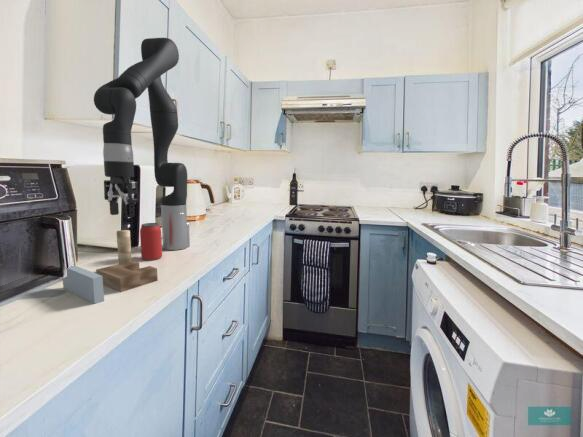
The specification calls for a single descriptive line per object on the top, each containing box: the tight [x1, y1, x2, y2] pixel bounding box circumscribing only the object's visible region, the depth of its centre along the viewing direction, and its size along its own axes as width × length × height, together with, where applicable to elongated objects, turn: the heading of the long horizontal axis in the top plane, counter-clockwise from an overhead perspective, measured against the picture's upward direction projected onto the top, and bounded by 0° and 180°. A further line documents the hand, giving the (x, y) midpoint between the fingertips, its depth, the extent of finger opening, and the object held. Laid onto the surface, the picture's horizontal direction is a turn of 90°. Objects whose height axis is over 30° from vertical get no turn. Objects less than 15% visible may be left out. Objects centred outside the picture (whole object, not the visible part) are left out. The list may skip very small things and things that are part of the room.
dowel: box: [116, 229, 133, 264], centre depth 91 cm, size 4×4×12 cm
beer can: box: [139, 222, 163, 261], centre depth 103 cm, size 7×7×12 cm
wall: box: [62, 264, 105, 305], centre depth 72 cm, size 2×16×6 cm, turn 58°
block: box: [95, 260, 158, 293], centre depth 82 cm, size 10×12×4 cm
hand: (122, 215), depth 89 cm, fingers open, 8 cm apart
